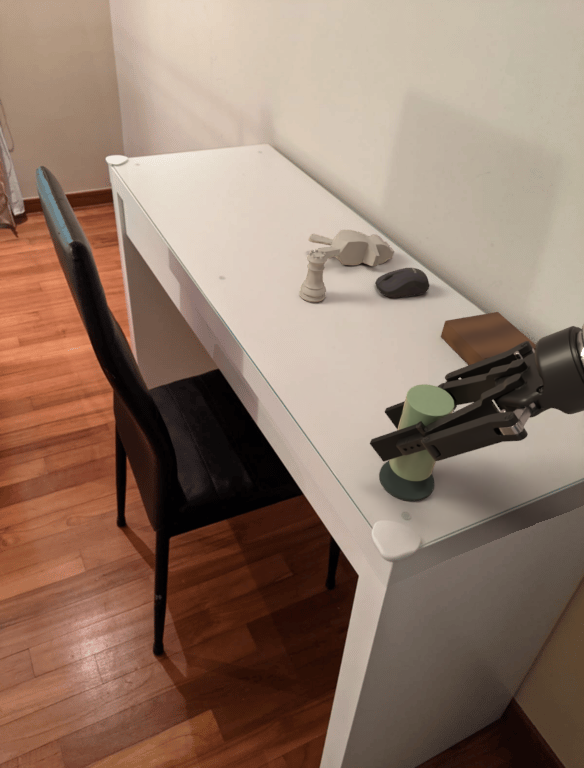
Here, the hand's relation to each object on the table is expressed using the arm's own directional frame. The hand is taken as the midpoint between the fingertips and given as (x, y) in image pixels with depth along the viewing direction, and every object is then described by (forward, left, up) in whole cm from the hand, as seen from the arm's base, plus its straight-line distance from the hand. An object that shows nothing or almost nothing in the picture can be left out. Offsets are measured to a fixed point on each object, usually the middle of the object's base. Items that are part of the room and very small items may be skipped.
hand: (385, 433), depth 69 cm
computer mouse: (+36, -24, -6) cm, 44 cm away
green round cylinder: (-3, -3, -3) cm, 5 cm away
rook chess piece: (+38, -8, -6) cm, 39 cm away
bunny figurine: (+48, -20, -6) cm, 52 cm away
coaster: (-3, -3, -6) cm, 7 cm away
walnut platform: (+17, -28, -6) cm, 33 cm away
